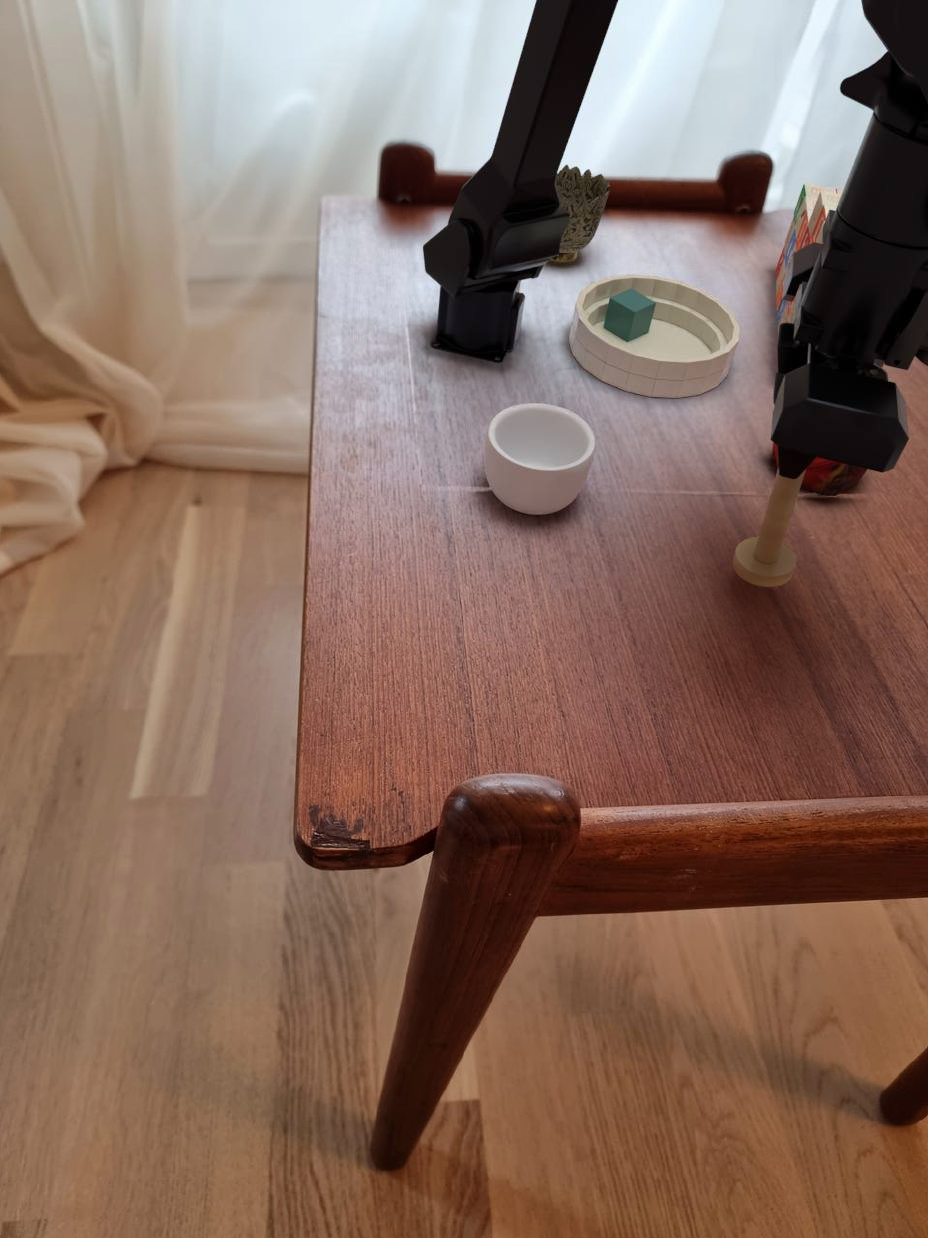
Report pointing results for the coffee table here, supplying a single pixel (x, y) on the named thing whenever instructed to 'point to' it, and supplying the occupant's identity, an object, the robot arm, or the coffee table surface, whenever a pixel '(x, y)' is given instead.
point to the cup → (579, 210)
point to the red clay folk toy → (827, 474)
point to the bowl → (656, 338)
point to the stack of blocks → (803, 237)
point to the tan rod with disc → (771, 539)
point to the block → (629, 315)
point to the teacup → (538, 457)
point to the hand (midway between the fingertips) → (788, 467)
